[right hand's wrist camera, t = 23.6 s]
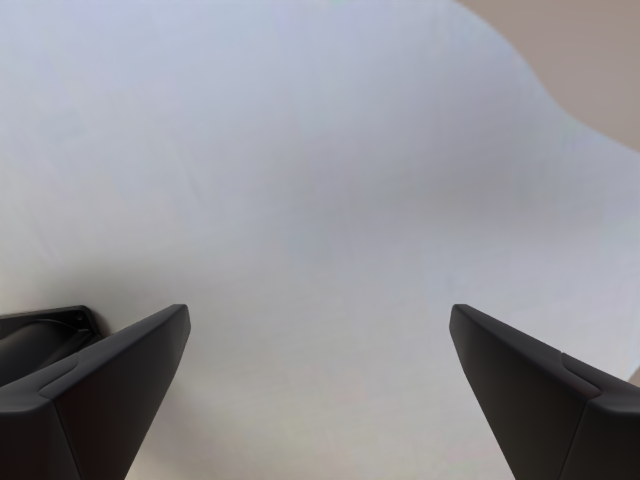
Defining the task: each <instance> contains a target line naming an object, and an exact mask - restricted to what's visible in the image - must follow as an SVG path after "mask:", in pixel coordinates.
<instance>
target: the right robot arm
mask: <svg viewBox="0 0 640 480" xmlns="http://www.w3.org/2000/svg"><path fill="white" fill-rule="evenodd" d="M79 312H80V313H82V315H81V314H80V313H79ZM190 330H191V324H190V318H189V311H188V307H187V305H185V304H173V305H171V306H169V307H167V308H165V309H163V310H161V311H159V312H157V313H155V314H153V315H151V316H149V317H147V318H145V319H143V320H141V321H139V322H137V323H135V324H133V325H131V326H129V327H127V328H125V329H123V330H121V331H119V332H117V333H115V334H113V335H111V336H109V337H107V338H105V339H103V337H102V335H101V333H100V331H99V329H98V326H97V324H96V322H95V320H94V317H93V315H92V313H91V311H90V309H89V308H87V307H86V306H83V305H79V306H72V307H65V308H57V309H50V310H43V311H35V312H28V313H21V314H14V315H6V316H0V480H124V479H125V477H126V475H127V473H128V471H129V469H130V467H131V465H132V463H133V461H134V459H135V456H136V454H137V452H138V450H139V448H140V446H141V444H142V442H143V440H144V438H145V436H146V434H147V432H148V429H149V427H150V425H151V423H152V421H153V419H154V417H155V415H156V413H157V411H158V409H159V407H160V405H161V402H162V400H163V398H164V396H165V394H166V392H167V390H168V388H169V386H170V384H171V382H172V380H173V377H174V375H175V373H176V371H177V368H178V366H179V363H180V360H181V357H182V354H183V351H184V348H185V345H186V342H187V340H188V337H189V334H190ZM449 330H450V334H451V337H452V340H453V342H454V345H455V348H456V351H457V354H458V357H459V360H460V363H461V366H462V368H463V371H464V373H465V375H466V377H467V380H468V382H469V384H470V386H471V388H472V390H473V392H474V394H475V396H476V398H477V400H478V402H479V405H480V407H481V409H482V411H483V413H484V415H485V417H486V419H487V421H488V423H489V425H490V427H491V429H492V432H493V434H494V436H495V438H496V440H497V442H498V444H499V446H500V448H501V450H502V452H503V454H504V456H505V459H506V461H507V463H508V465H509V467H510V469H511V471H512V473H513V475H514V477H515V479H516V480H640V388H639V387H637V386H635V385H632V384H630V383H628V382H626V381H623V380H621V379H619V378H616V377H614V376H612V375H610V374H608V373H605V372H603V371H601V370H599V369H596V368H594V367H592V366H590V365H588V364H586V363H584V362H582V361H580V360H578V359H575V358H573V357H571V356H569V355H567V354H565V353H561V351H559V350H557V349H555V348H553V347H551V346H549V345H547V344H545V343H543V342H541V341H539V340H537V339H535V338H533V337H531V336H529V335H527V334H525V333H523V332H521V331H519V330H517V329H515V328H513V327H511V326H509V325H507V324H505V323H503V322H501V321H499V320H497V319H495V318H493V317H491V316H489V315H487V314H485V313H483V312H481V311H479V310H477V309H475V308H473V307H471V306H469V305H467V304H455V305H453V307H452V311H451V318H450V324H449Z"/></svg>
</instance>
